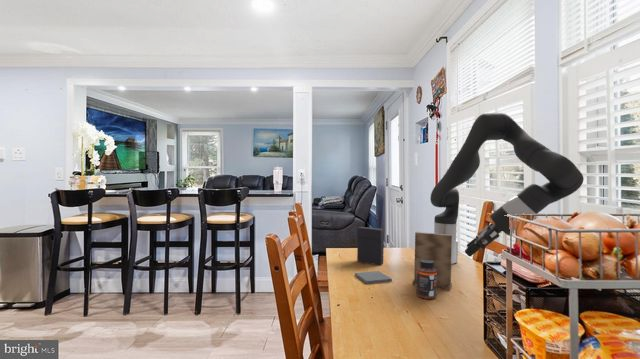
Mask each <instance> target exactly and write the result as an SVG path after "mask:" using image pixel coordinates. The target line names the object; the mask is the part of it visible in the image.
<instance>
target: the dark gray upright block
mask: <svg viewBox="0 0 640 359" xmlns="http://www.w3.org/2000/svg"><path fill="white" fill-rule="evenodd" d="M356 237H357V249H356V250H357V258H356V261H357V262H359V263H363V264H371V265H376V266H382V265H383V264H384V247H385V246H384V244H385V243H384V241H385V240H384V239H385V230H384V229H383V228H377V227H365V226H358V227H357V229H356Z"/></svg>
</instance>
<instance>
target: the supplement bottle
mask: <svg viewBox="0 0 640 359" xmlns="http://www.w3.org/2000/svg"><path fill="white" fill-rule="evenodd" d="M420 264H421V266H419V267H418V269H417V285H416V296H418V297H419V298H421V299H425V300H433V299H436V298H437V287H436V285H437V270H436V269H435V268H434V261H432V260H421V263H420Z"/></svg>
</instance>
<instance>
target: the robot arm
mask: <svg viewBox="0 0 640 359" xmlns="http://www.w3.org/2000/svg"><path fill="white" fill-rule="evenodd" d="M500 140H503V141H505V142H507V143H509V144H511V145H512V147H513V151H514V154H515V156H516V157H517V158H518V160H520V162H522V163H523V164H525V165H526V166H527V167H528V168H530V169H531V170H533V171H535V172H538V173H540V174H541V175H542V176H543V177H544V178H545V179H546V180H547V182H546V183H543V184H542V185H539V184H535V183H531V184H529V185H528V186H526V187H525V188H524V189H522V190H521V191H520V192H518V193H517V194H516V195H515V196H513V197H512V198H510V199H508V201H506V202H505V203H504V204H502V206H500V207H498V208H497V209H496V210H495V211H494V212H493V213H492V214H490V215H489V218H490V219H491V221H492V222H491V223H489V224H488V225H486V226H485V227H484V228H483V229H481V230H480V231H479V232H478V233H477V235H476V236H475V237H474V238H473V239H472V240H471V241H469V242H468V243H467V244H466V249H464V253H465V254H466V255H467V256H468V257H473V256H474V254H476V253H477V252H478V251H480V250H485V248H487V246H488V245H490V244H491V243H492V242H494V241H495V240H497V239H498V238H499V237H500V236H501V235H500V233H502V232H503V233H504V234H506V235H507V236H509V237H510V236H511V235H510V229H509V217H507V216H504V215H507V214H523V213H524V214H536V215H538V214H539V213H540V212H541V211H543V210H544V209H545V208H547V207H548V206H549V205H550V204H553V203H556V202H558V201H560V200H562V199H564V198H566V197H568V196H570V195H572V194H574V193H575V192H576V191H578V190H579V189H580V188H581V187H582V185H583V183H584V179H585V178H584V174H583V173H582V172H581V171H580V170H579V168H578V167H577V166H576V165H575V163H574V162H573V161H571V160H570V159H569V158H567V157H566V156H564V155H562V154H560V153H558V152H556V151H552V149H550V148H549V147H546V146H545V145H544V144H542V143H541V142H539V141H538V140H536V139H534V138H533V137H532V136H531V135H529V133H527V132H526V131H525V130H524V129H523V128H522V127H521V126H520V125H519V124H518V123H517V121H515V120H514V119H513V118H512V117H511V116H510V115H508V114H507V113H503V112H502V113H501V112H498V113H497V112H494V113H493V112H492V113H491V112H489V113H481V114H480V115H479V116H477V117H476V118H475V121H474V122H473V124H472V126H471V128H470V130H469V133H468V135H467V136H466V139H465V141H464V143H463V145H462V146H461V148H460V150H459V151H458V153H457V154H456V156H455V157H454V159H453V160H452V162H451V163H450V166H449V167H448V169H447V171H446V172H445V173H444V175H443V176H442V177H441V179H440V180H439V181H438V183H437V184H436V185H435V186H434V187H433V189H432V191H431V192H430V203H431V205H432V206H434V207H435V208H445V209H444V211H442V212H441V213H439V214H436V215H435V216H434V223H433V224H434V226H433V227H434V228H433V230H434V231H433V233H434V234H445V235H452V255H451V265H453V264H456V263H459V262H458V261H459V260H458V258H459V257H458V256H459V254H458V253H459V241H458V240H457V221H458V217H459V206H460V192H459V190H458V188H457V187H459V186H460V185H463V184H464V183H466V182H467V181H469V180H470V179H471V178H472V177H473V176H474V174H475V173H476V172H477V171H478V169H479V168H480V163H481V158H480V153H479V151H480V149H481V147H482V146H483V145H484V144H485V143H486V142H487V141H500Z"/></svg>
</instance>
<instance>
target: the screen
mask: <svg viewBox="0 0 640 359" xmlns="http://www.w3.org/2000/svg"><path fill="white" fill-rule="evenodd" d="M451 255H452V235H445V234H434V232H433V233H431V232H420V231H416V232H415V233H414V269H413V270H414V271H413V272H414V273H413V274H414V276H413V280H412V285H413V286H417V269H418V267H419V266H421V264H420V263H421V260H432V261H434V268H435V269H436V270H437V285H436V288H442V290H444V291H445V290H446V291H451V290H452V286H453V282H452V264H451Z"/></svg>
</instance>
